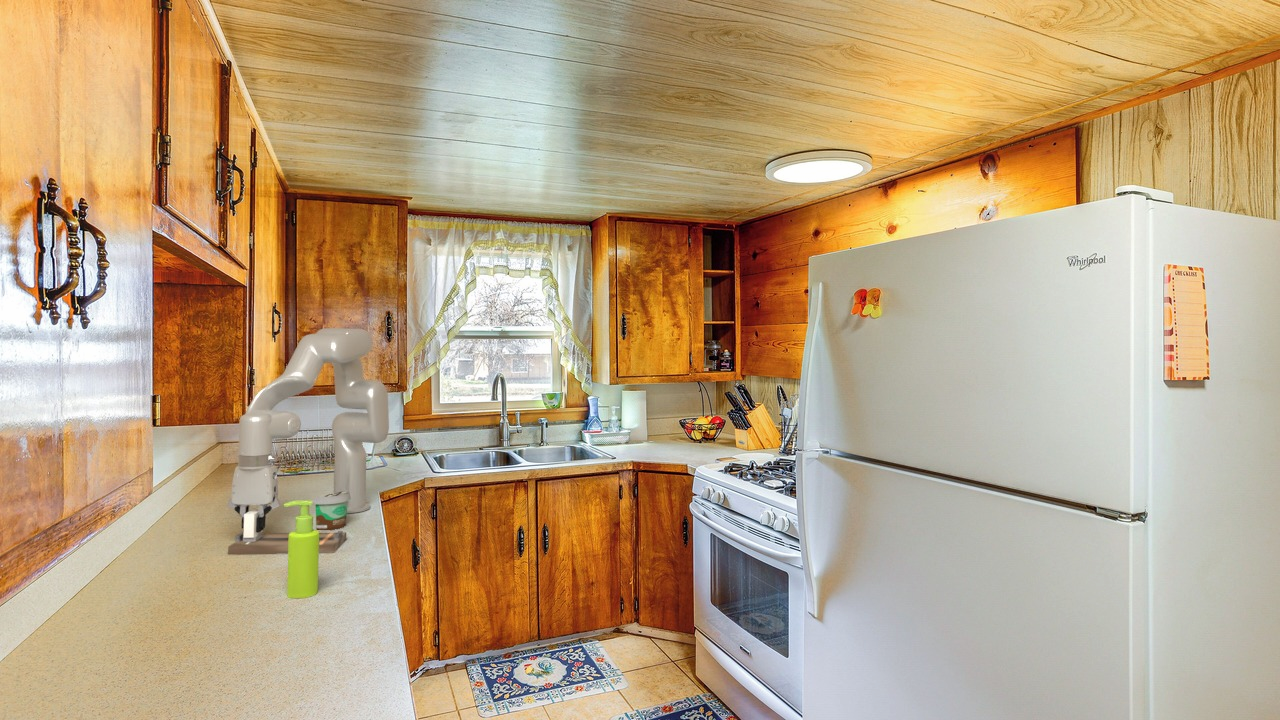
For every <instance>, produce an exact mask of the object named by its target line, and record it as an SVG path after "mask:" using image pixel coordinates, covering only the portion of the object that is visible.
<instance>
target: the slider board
mask: <svg viewBox="0 0 1280 720" xmlns="http://www.w3.org/2000/svg"><path fill="white" fill-rule="evenodd" d="M289 533H290V532H278V533H277V532H276V533H275V532H272V533H271V532H267V533H266V532H265V533H264V532H263V537H261V538H260V539H259V540H257V541H256V542H243V536H244V533H243V531H242V532H240V533H238V534H236V535H235V536H234V537H235V541H234V542H233V543H232V544H230V545H229V546H228V548H227V550H228V552H227V555H228V554H237V555H278V554H277V553H288V540H289ZM346 540H347V532H345V531H343V530H338V531H337V532H319V554H334V553H335V552H336V551H337V550H338V549H339V548H340V547H341V546H342V545H343V544H344V543H345V541H346Z"/></svg>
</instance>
